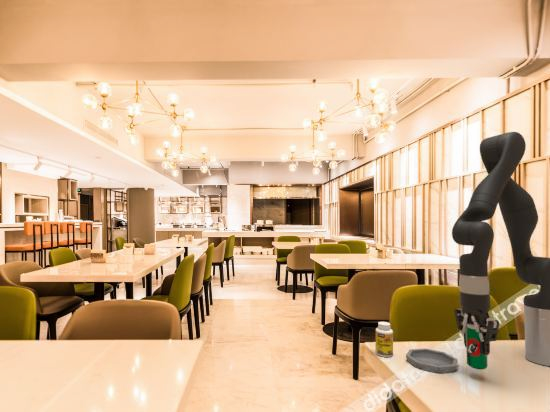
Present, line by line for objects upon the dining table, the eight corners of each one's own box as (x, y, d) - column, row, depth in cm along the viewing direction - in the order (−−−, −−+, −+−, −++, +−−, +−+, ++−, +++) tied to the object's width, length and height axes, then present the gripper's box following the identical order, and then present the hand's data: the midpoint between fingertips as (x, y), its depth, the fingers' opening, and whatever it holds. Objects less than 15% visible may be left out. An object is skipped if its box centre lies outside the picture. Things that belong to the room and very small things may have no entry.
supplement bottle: (375, 356, 108) (374, 324, 108) (376, 350, 113) (376, 320, 114) (393, 358, 106) (392, 326, 106) (393, 352, 111) (393, 322, 112)
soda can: (491, 371, 91) (489, 326, 91) (470, 369, 92) (469, 325, 92) (483, 363, 96) (481, 321, 96) (464, 362, 97) (462, 320, 97)
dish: (435, 353, 111) (435, 347, 111) (468, 371, 97) (467, 364, 98) (398, 355, 108) (398, 350, 108) (426, 374, 95) (426, 368, 95)
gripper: (507, 295, 88) (510, 359, 88) (466, 285, 103) (468, 341, 102) (483, 296, 87) (486, 362, 86) (445, 286, 101) (447, 342, 100)
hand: (476, 350), depth 94 cm, fingers closed on soda can, 5 cm apart
